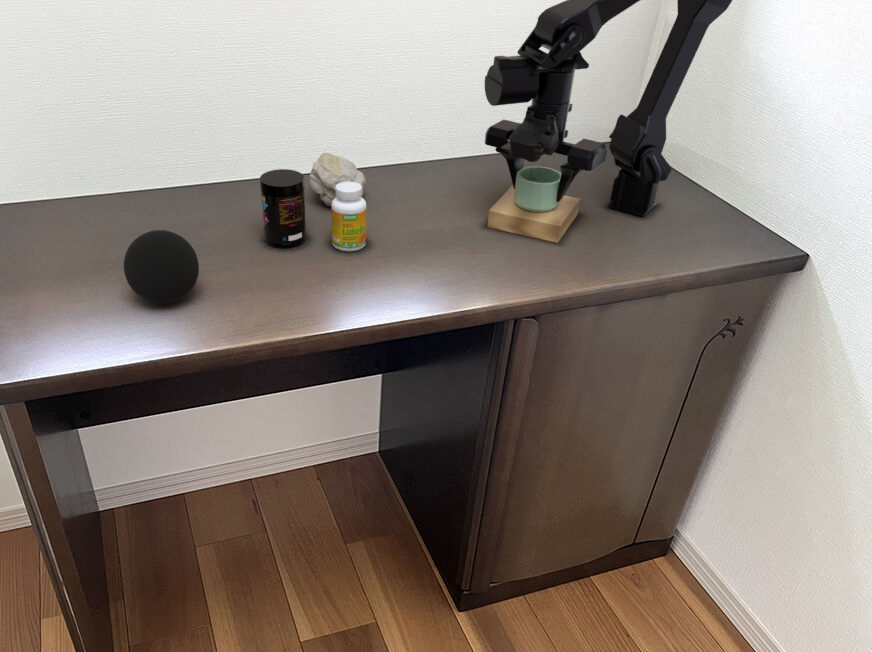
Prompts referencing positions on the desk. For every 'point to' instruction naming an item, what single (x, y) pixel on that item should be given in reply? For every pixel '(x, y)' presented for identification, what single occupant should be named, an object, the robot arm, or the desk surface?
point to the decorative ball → (161, 266)
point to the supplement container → (283, 207)
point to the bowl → (537, 188)
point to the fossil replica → (333, 176)
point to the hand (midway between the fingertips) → (537, 195)
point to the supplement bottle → (348, 217)
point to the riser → (533, 218)
